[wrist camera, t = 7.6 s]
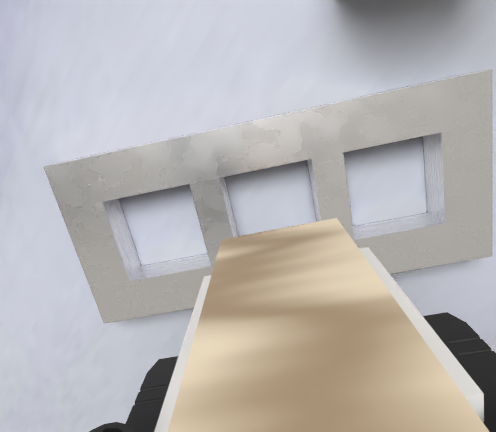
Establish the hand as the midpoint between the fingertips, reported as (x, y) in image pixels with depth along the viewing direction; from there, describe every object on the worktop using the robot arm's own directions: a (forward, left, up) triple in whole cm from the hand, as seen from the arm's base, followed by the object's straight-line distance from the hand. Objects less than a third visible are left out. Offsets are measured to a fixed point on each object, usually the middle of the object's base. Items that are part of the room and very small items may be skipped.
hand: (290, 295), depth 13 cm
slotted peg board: (0, 0, -13) cm, 13 cm away
